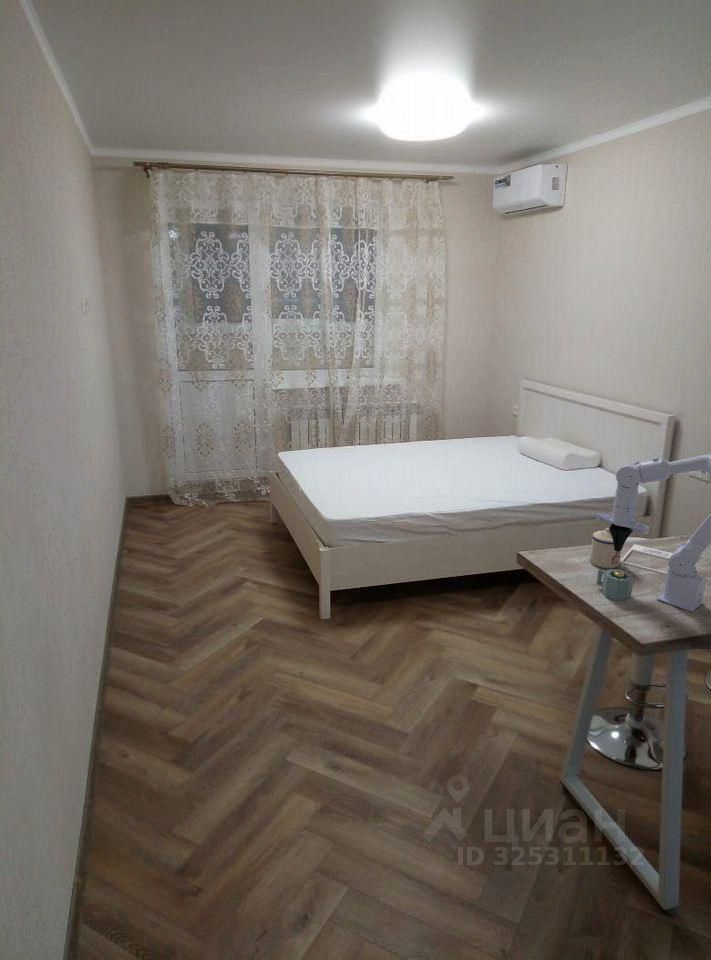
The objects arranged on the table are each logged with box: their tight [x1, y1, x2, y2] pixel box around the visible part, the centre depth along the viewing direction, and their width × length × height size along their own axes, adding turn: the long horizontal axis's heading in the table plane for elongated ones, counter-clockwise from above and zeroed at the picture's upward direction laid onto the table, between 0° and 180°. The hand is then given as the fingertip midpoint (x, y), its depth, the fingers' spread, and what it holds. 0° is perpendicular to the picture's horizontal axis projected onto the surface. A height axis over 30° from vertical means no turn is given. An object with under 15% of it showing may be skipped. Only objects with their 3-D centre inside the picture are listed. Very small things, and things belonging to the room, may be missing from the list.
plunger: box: [614, 571, 624, 579], centre depth 180 cm, size 4×4×5 cm
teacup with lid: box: [589, 527, 622, 569], centre depth 201 cm, size 12×9×12 cm
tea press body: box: [596, 568, 635, 601], centre depth 181 cm, size 9×7×6 cm
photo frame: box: [619, 543, 674, 576], centre depth 205 cm, size 15×1×18 cm
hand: (618, 550), depth 185 cm, fingers closed
